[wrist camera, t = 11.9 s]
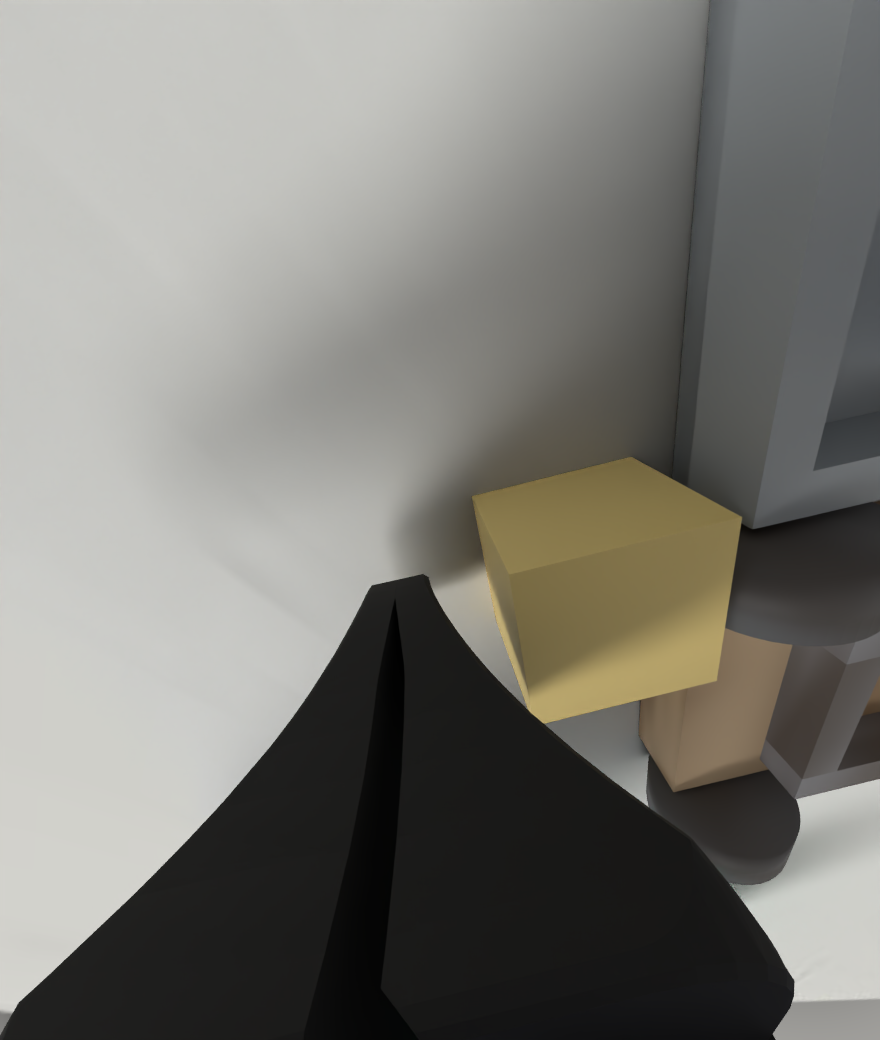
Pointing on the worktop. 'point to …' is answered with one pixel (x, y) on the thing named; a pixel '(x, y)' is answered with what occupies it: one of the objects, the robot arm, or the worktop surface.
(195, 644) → the worktop surface
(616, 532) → the yellow cube
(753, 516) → the tray
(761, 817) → the trolley
